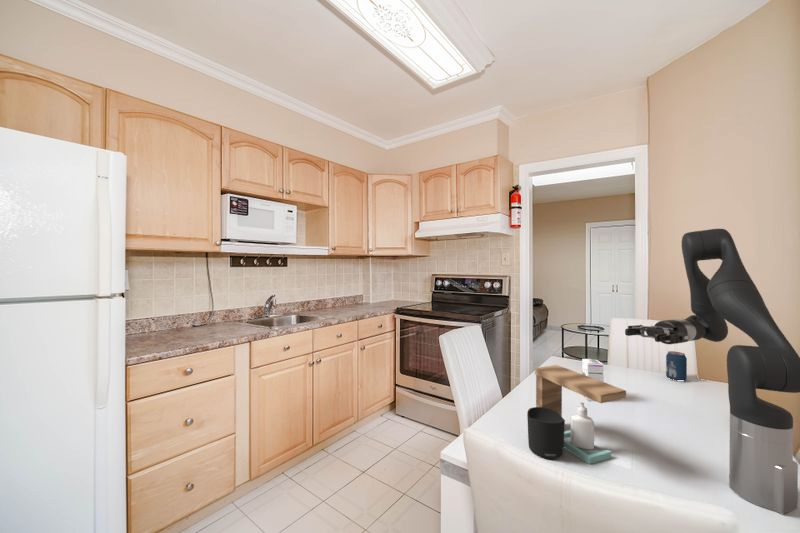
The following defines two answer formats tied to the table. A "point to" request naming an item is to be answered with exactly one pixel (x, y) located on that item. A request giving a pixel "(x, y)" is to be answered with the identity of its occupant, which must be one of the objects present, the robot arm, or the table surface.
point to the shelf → (570, 387)
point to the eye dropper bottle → (582, 429)
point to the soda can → (676, 365)
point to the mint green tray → (586, 451)
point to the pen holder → (545, 432)
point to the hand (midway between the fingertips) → (640, 335)
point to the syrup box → (592, 370)
